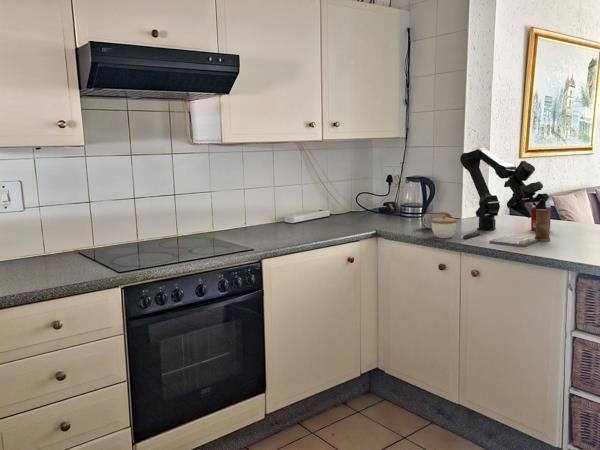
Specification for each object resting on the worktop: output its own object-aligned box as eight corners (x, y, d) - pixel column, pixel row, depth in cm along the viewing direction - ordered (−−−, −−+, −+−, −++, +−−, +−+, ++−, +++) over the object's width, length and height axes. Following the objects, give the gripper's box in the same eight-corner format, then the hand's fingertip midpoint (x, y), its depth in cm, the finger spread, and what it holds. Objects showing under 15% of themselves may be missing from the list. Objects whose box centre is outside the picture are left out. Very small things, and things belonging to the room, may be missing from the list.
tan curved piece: (453, 229, 251) (453, 212, 250) (451, 230, 249) (451, 213, 248) (423, 227, 260) (423, 210, 259) (420, 228, 258) (420, 211, 256)
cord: (465, 239, 226) (465, 235, 226) (462, 239, 227) (462, 235, 227) (480, 235, 235) (480, 231, 235) (477, 234, 237) (477, 231, 236)
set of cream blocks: (519, 243, 210) (519, 240, 209) (527, 240, 215) (527, 237, 215) (522, 243, 209) (523, 240, 208) (530, 240, 214) (530, 237, 214)
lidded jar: (427, 238, 233) (427, 216, 231) (436, 234, 242) (436, 213, 240) (451, 239, 227) (451, 218, 225) (459, 235, 236) (460, 214, 234)
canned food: (551, 231, 239) (552, 206, 237) (532, 231, 241) (533, 207, 239) (547, 228, 247) (548, 204, 245) (529, 228, 248) (530, 204, 246)
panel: (489, 243, 217) (489, 240, 217) (503, 238, 226) (503, 235, 226) (523, 246, 207) (523, 244, 207) (537, 241, 216) (537, 239, 216)
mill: (531, 240, 220) (532, 210, 218) (537, 238, 224) (538, 208, 222) (546, 242, 216) (548, 211, 214) (552, 239, 220) (553, 209, 218)
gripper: (512, 176, 219) (532, 205, 211) (546, 174, 226) (567, 202, 218) (498, 194, 228) (517, 223, 219) (531, 191, 235) (550, 219, 226)
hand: (538, 216), depth 220 cm, fingers open, 9 cm apart
